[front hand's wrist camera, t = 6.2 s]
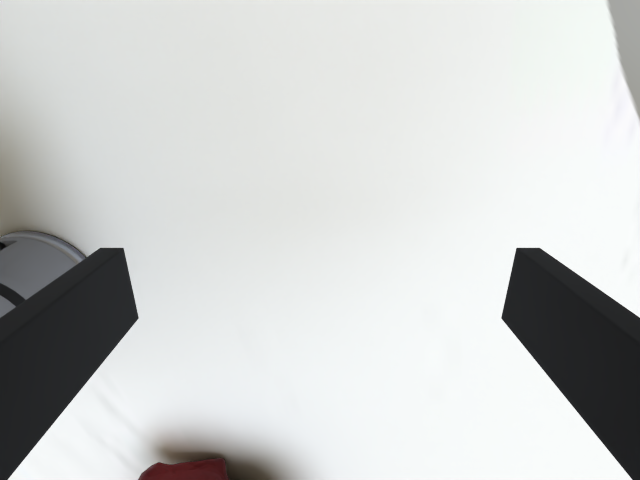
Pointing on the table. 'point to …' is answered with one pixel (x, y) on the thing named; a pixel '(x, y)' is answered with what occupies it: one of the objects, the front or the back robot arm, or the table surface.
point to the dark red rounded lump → (187, 471)
